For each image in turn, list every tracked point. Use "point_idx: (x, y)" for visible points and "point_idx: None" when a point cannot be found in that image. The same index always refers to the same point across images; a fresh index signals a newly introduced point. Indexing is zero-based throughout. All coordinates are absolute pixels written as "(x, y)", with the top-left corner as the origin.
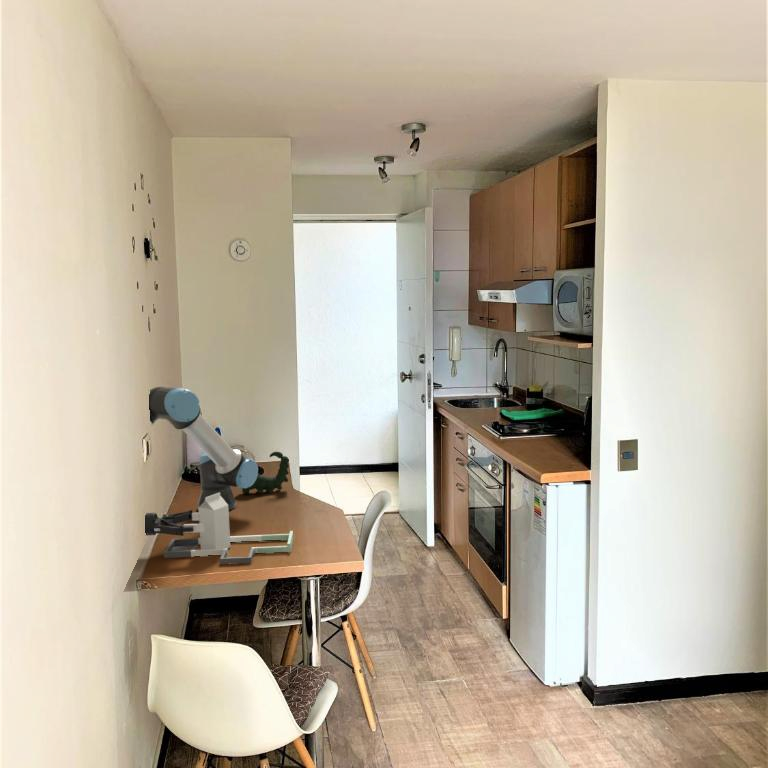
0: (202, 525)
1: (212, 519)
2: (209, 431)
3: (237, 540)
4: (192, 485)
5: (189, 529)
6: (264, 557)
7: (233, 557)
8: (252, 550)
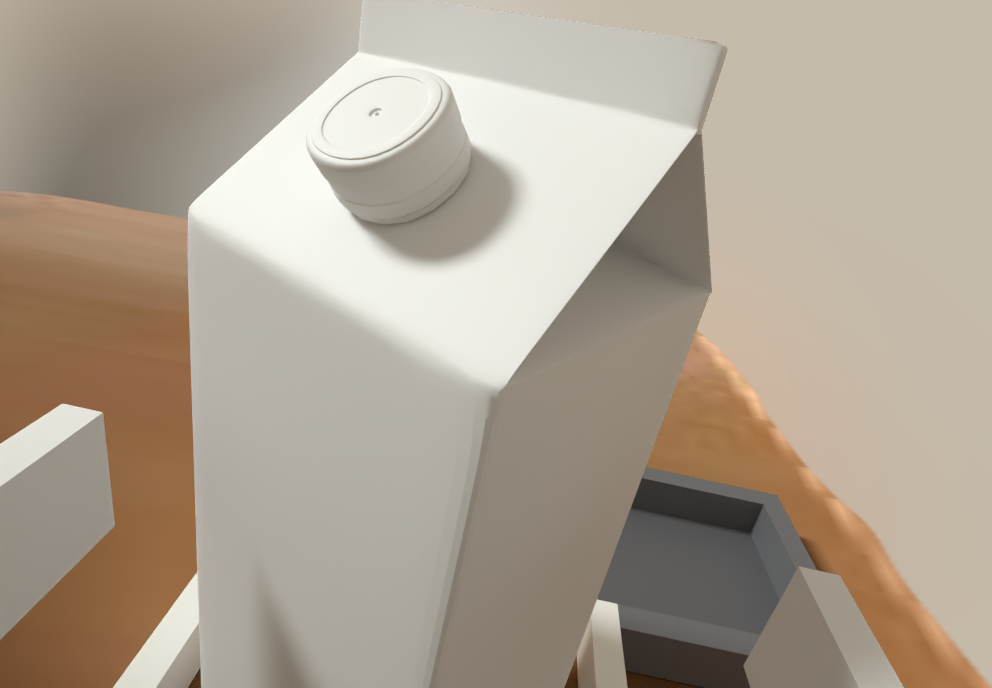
0: (836, 606)
1: (647, 438)
2: None
3: None
4: None
5: None
6: (650, 462)
7: None
8: (645, 470)
